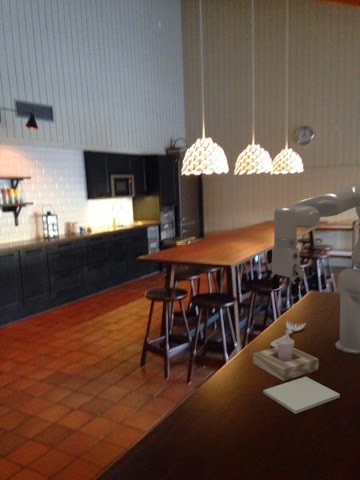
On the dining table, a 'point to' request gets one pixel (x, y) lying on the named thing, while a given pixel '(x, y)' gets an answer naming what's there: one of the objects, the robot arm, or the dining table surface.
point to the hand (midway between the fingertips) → (284, 291)
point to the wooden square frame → (285, 363)
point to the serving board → (301, 394)
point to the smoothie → (285, 348)
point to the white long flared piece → (289, 331)
